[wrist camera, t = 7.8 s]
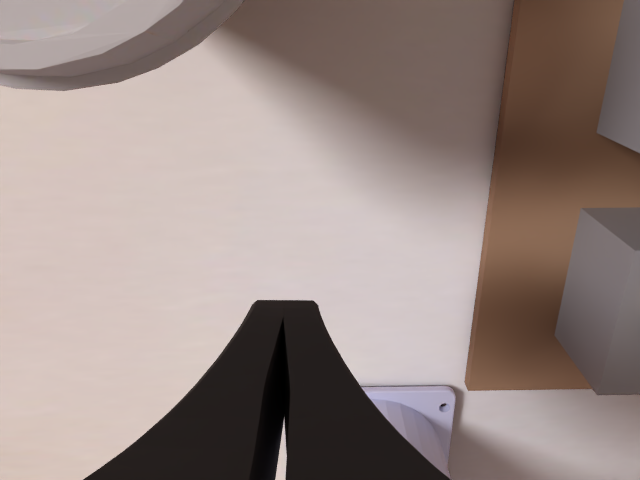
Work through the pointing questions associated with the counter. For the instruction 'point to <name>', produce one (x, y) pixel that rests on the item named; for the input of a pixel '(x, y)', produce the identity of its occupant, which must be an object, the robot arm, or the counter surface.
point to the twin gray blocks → (609, 245)
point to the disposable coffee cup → (99, 38)
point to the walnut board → (544, 189)
